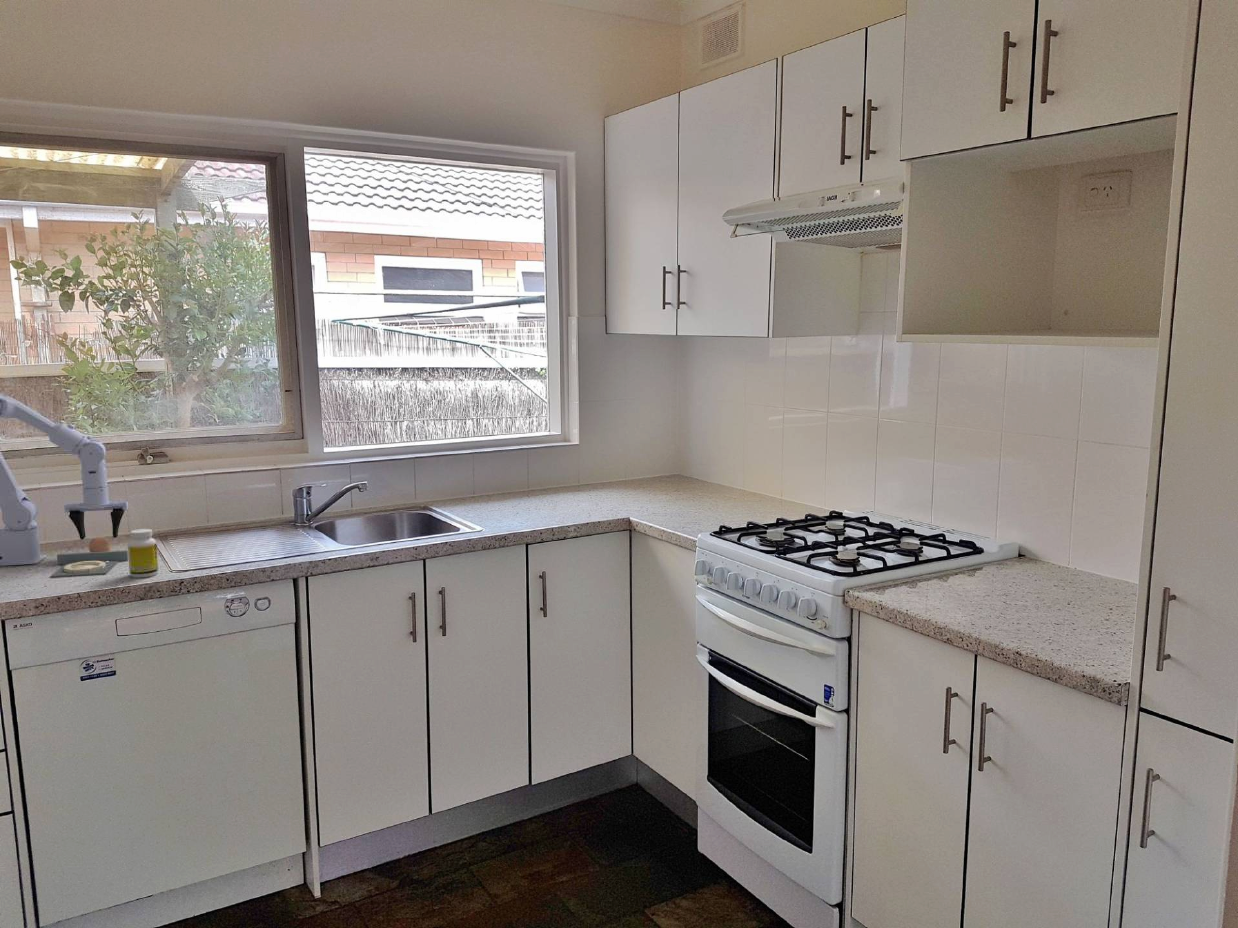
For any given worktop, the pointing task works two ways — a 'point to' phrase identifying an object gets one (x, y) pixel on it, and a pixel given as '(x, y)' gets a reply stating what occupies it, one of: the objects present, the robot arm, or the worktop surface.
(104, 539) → the ball
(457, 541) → the worktop surface
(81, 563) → the slate mat
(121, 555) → the acrylic wall
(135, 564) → the pill bottle
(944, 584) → the worktop surface
